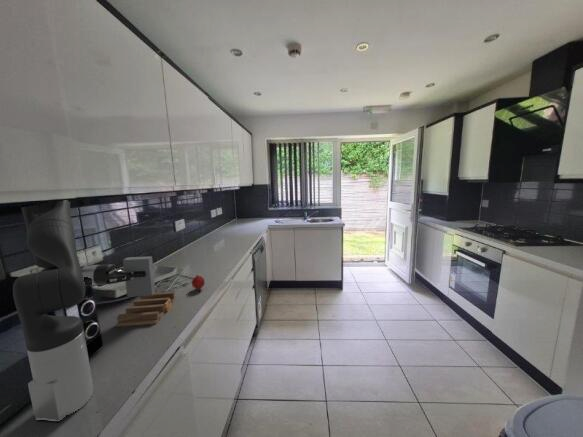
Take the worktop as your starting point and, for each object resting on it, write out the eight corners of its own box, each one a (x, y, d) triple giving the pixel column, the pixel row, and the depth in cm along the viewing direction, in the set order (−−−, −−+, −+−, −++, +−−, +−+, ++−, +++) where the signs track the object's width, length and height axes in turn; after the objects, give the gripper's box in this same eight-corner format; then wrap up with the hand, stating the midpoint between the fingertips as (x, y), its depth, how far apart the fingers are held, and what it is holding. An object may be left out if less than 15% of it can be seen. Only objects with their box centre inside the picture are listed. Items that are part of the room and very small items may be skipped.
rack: (159, 323, 87) (158, 314, 86) (116, 326, 85) (115, 318, 84) (177, 297, 106) (177, 290, 106) (143, 300, 105) (142, 292, 104)
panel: (152, 295, 90) (148, 258, 88) (127, 296, 89) (122, 259, 87) (155, 291, 93) (152, 256, 91) (131, 293, 92) (127, 257, 90)
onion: (192, 288, 116) (191, 273, 115) (204, 286, 118) (203, 271, 117) (192, 293, 111) (191, 277, 109) (205, 291, 113) (203, 275, 111)
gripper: (84, 272, 80) (137, 269, 83) (109, 259, 94) (154, 257, 96) (87, 292, 81) (139, 289, 84) (111, 276, 95) (156, 274, 98)
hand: (147, 272), depth 90 cm, fingers closed on panel, 3 cm apart
